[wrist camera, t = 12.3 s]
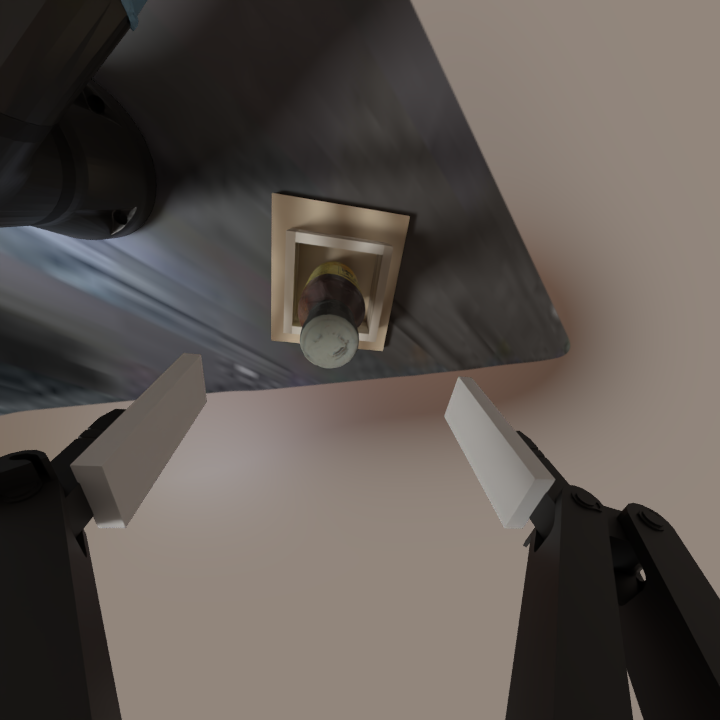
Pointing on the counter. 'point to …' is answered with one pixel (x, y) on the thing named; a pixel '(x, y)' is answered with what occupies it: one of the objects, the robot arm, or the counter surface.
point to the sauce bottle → (331, 315)
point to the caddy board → (339, 244)
